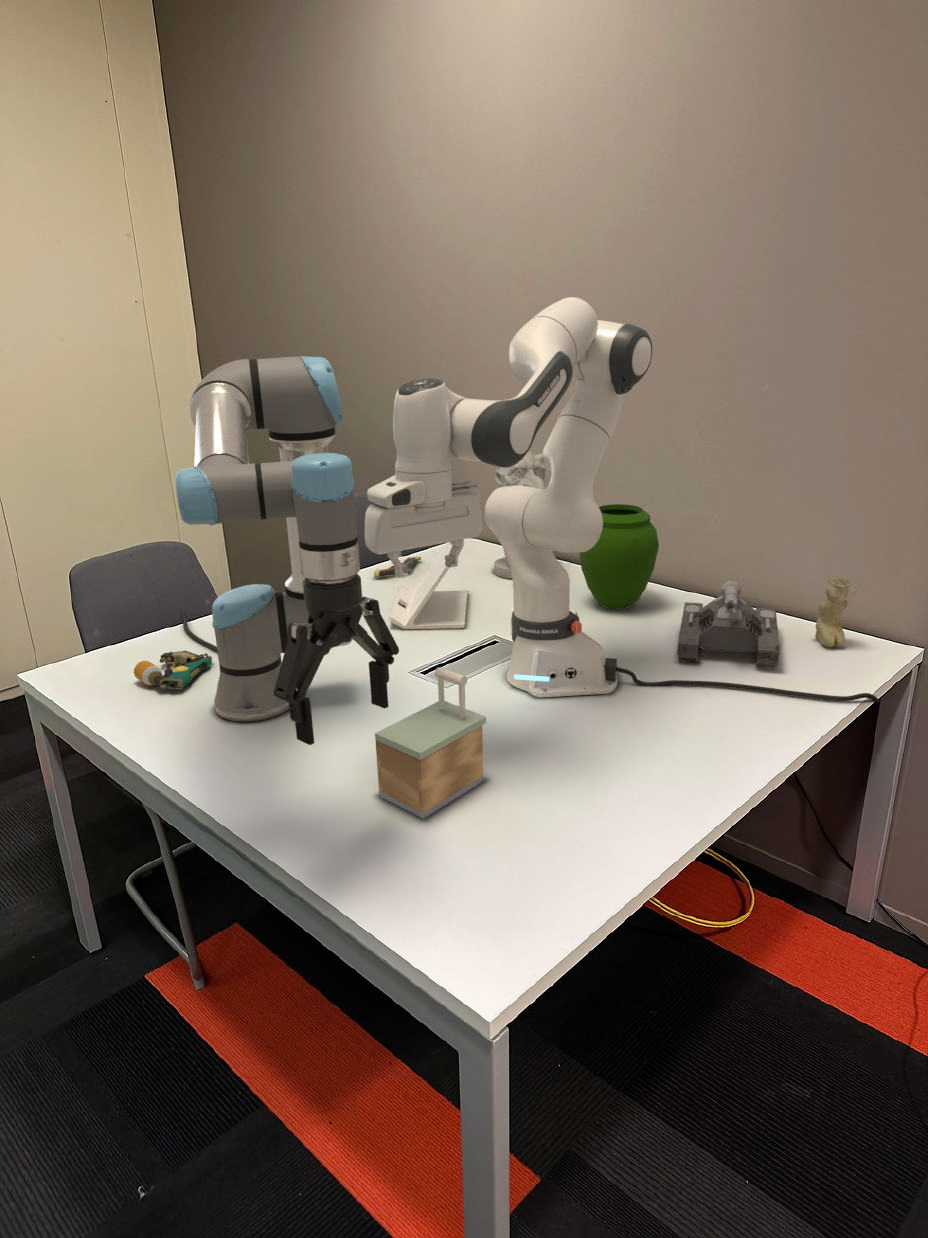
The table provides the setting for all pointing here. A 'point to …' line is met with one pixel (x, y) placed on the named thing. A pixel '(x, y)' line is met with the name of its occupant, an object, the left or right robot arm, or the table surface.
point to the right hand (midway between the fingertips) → (426, 571)
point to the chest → (430, 774)
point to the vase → (621, 556)
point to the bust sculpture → (523, 474)
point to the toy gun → (391, 570)
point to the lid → (433, 722)
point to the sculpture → (832, 613)
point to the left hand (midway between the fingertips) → (344, 722)
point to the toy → (729, 628)
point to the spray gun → (172, 669)
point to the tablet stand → (430, 602)
